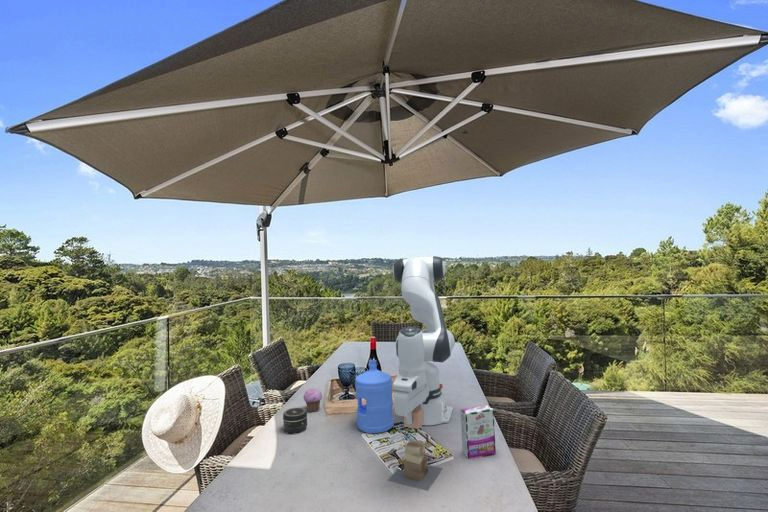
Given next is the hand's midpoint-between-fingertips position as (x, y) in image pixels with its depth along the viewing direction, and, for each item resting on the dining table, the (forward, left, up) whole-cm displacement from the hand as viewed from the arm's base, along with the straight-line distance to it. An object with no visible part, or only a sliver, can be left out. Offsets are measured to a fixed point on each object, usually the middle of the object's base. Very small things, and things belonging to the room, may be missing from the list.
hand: (413, 419), depth 137 cm
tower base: (0, 0, -18) cm, 18 cm away
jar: (-12, -61, -19) cm, 65 cm away
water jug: (-28, -31, -19) cm, 46 cm away
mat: (0, 0, -19) cm, 19 cm away
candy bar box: (-22, +15, -19) cm, 33 cm away
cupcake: (-32, -67, -19) cm, 77 cm away
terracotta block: (0, 0, -2) cm, 2 cm away
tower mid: (0, 0, -13) cm, 13 cm away
